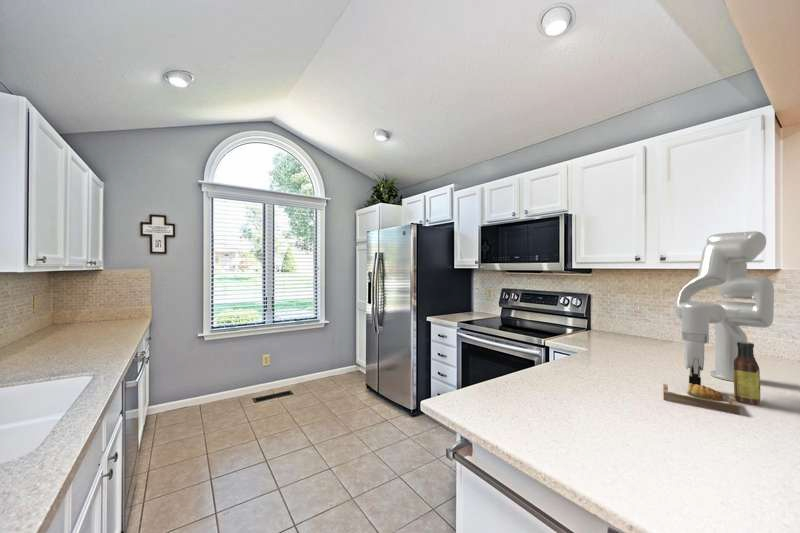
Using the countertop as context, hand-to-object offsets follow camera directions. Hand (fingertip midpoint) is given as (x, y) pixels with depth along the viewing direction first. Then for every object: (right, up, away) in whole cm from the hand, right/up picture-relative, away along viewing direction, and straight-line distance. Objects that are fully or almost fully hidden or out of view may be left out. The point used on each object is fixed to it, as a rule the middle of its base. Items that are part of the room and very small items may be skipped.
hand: (694, 387), depth 124 cm
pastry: (-2, -2, -5) cm, 5 cm away
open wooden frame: (-8, -1, -11) cm, 14 cm away
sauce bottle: (+9, -1, -10) cm, 13 cm away
